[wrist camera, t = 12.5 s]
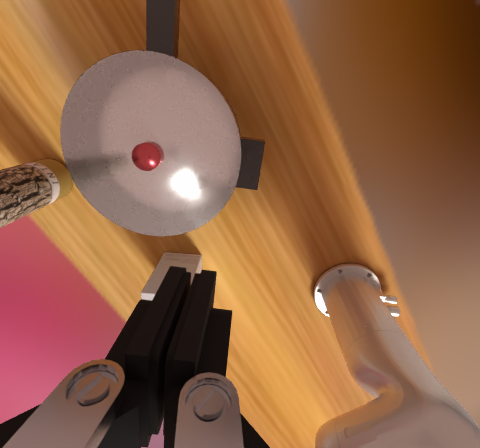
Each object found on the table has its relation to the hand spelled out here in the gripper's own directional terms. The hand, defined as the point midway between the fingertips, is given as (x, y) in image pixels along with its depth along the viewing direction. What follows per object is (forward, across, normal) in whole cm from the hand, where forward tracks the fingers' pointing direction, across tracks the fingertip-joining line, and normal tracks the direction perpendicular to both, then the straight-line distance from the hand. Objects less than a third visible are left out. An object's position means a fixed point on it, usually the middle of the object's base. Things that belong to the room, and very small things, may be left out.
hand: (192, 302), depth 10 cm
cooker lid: (+26, +10, -1) cm, 28 cm away
